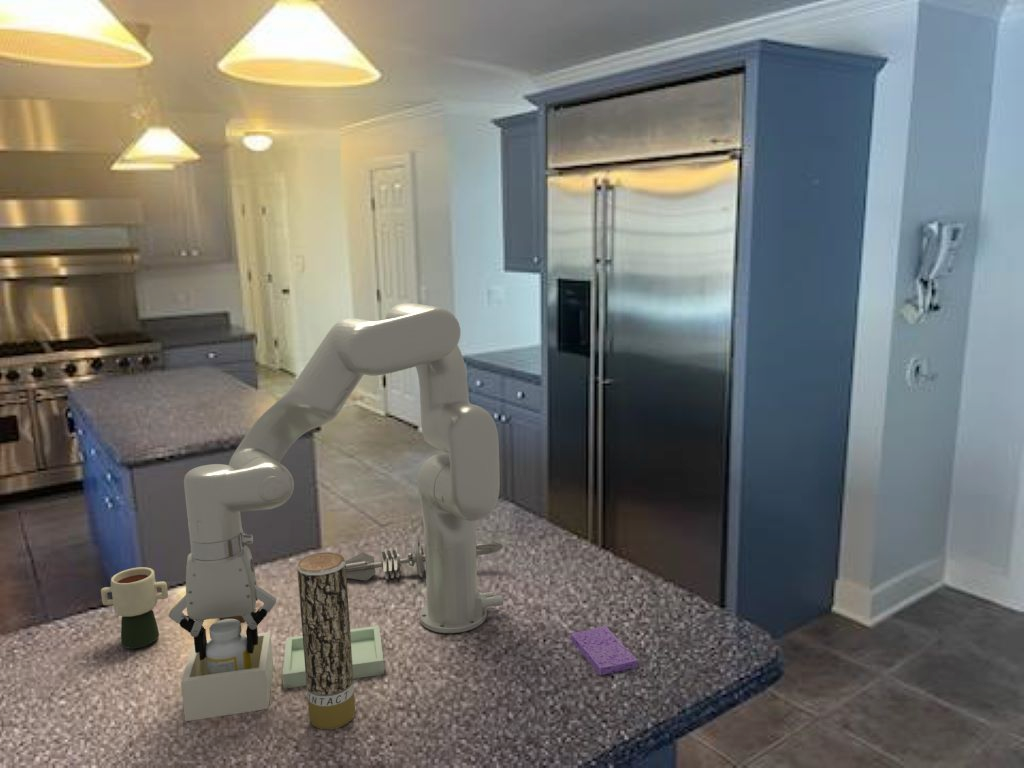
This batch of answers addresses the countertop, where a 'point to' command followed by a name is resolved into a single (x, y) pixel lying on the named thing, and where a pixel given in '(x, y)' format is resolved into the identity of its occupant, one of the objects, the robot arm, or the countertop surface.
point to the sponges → (603, 650)
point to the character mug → (135, 604)
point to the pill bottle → (227, 648)
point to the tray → (363, 656)
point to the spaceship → (399, 561)
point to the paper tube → (326, 639)
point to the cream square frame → (228, 685)
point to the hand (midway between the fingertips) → (227, 651)
